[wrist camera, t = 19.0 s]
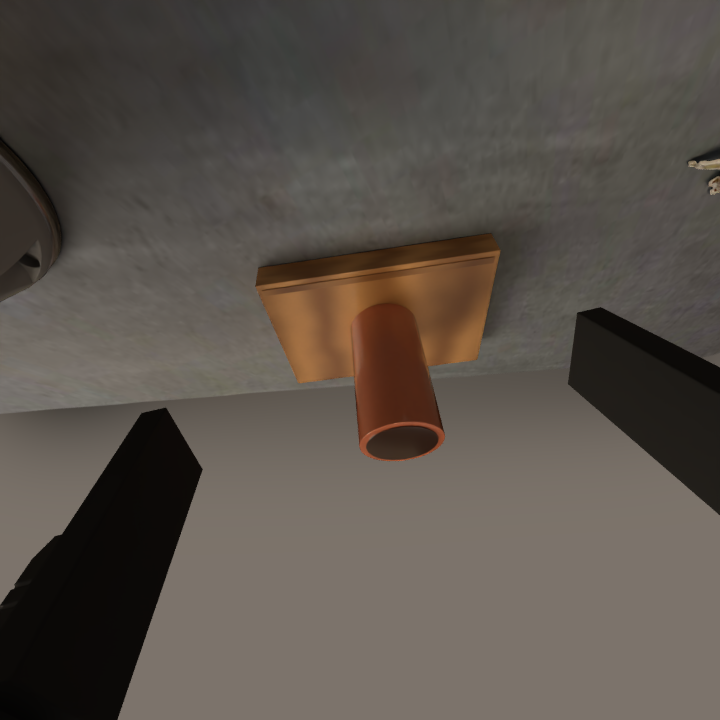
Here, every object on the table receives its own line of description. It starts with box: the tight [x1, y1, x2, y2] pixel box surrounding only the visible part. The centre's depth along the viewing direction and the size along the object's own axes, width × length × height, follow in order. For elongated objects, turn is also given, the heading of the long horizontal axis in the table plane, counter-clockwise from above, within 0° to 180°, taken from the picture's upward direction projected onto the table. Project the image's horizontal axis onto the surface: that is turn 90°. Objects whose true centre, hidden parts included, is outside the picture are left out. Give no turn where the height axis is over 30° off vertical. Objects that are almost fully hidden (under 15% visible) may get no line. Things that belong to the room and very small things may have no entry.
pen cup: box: [350, 304, 445, 461], centre depth 30 cm, size 6×6×12 cm
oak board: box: [255, 233, 500, 383], centre depth 35 cm, size 20×14×3 cm
